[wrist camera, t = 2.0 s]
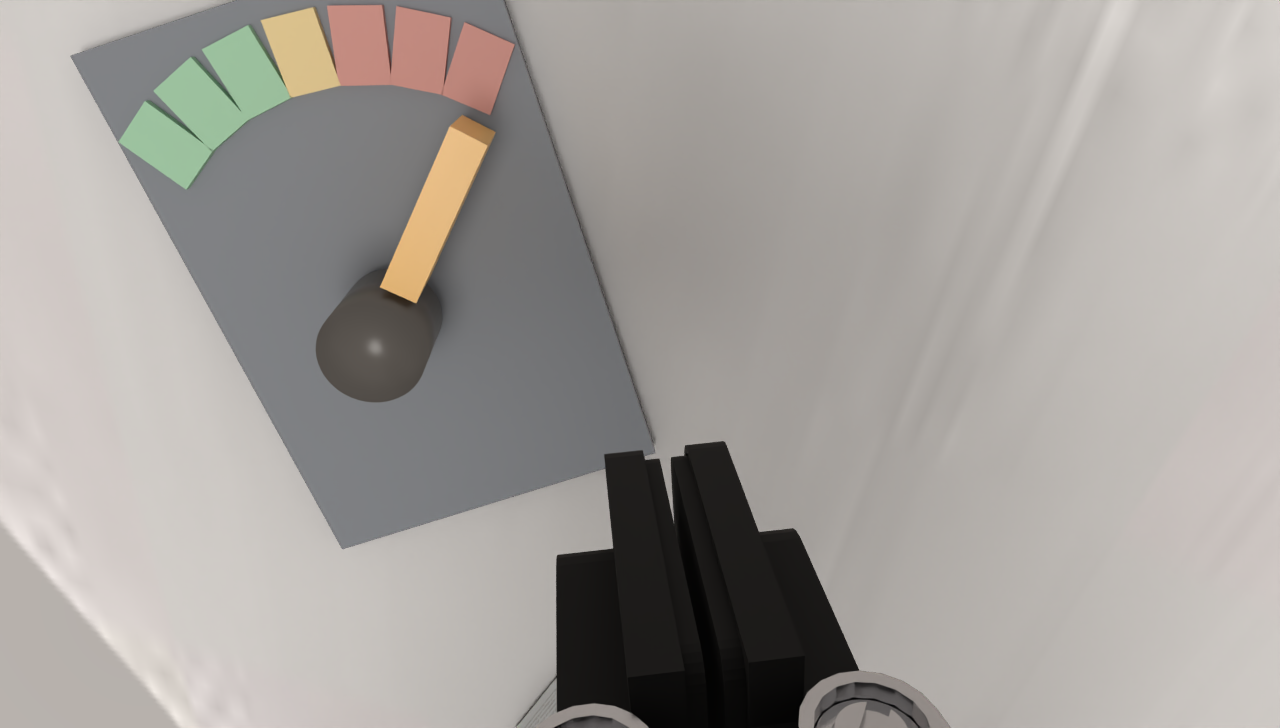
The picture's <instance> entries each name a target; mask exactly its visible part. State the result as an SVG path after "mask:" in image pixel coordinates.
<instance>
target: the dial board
mask: <svg viewBox="0 0 1280 728" xmlns="http://www.w3.org/2000/svg"><path fill="white" fill-rule="evenodd" d="M71 58H72V60H73V62H74V64H75V65H76V67H77V69H78V71H79V73H80V74H81V76H82V78H83V80H84V82H85V84H86V85H87V87H88V89H89V91H90V93H91V94H92V96H93V98H94V100H95V102H96V103H97V105H98V107H99V109H100V111H101V113H102V114H103V116H104V118H105V120H106V122H107V123H108V125H109V127H110V129H111V131H112V132H113V134H114V136H115V138H116V140H117V142H118V143H119V145H120V147H121V149H122V151H123V152H124V154H125V156H126V158H127V160H128V162H129V163H130V165H131V167H132V169H133V171H134V172H135V174H136V176H137V178H138V180H139V181H140V183H141V185H142V187H143V189H144V191H145V192H146V194H147V196H148V198H149V200H150V201H151V203H152V205H153V207H154V209H155V210H156V212H157V214H158V216H159V218H160V220H161V221H162V223H163V225H164V227H165V229H166V230H167V232H168V234H169V236H170V238H171V240H172V241H173V243H174V245H175V247H176V249H177V250H178V252H179V254H180V256H181V258H182V259H183V261H184V263H185V265H186V267H187V269H188V270H189V272H190V274H191V276H192V278H193V279H194V281H195V283H196V285H197V287H198V288H199V290H200V292H201V294H202V296H203V298H204V299H205V301H206V303H207V305H208V307H209V308H210V310H211V312H212V314H213V316H214V318H215V319H216V321H217V323H218V325H219V327H220V328H221V330H222V332H223V334H224V336H225V337H226V339H227V341H228V343H229V345H230V347H231V348H232V350H233V352H234V354H235V356H236V357H237V359H238V361H239V363H240V365H241V366H242V368H243V370H244V372H245V374H246V376H247V377H248V379H249V381H250V383H251V385H252V386H253V388H254V390H255V392H256V394H257V396H258V397H259V399H260V401H261V403H262V405H263V406H264V408H265V410H266V412H267V414H268V415H269V417H270V419H271V421H272V423H273V425H274V426H275V428H276V430H277V432H278V434H279V435H280V437H281V439H282V441H283V443H284V444H285V446H286V448H287V450H288V452H289V454H290V455H291V457H292V459H293V461H294V463H295V464H296V466H297V468H298V470H299V472H300V474H301V475H302V477H303V479H304V481H305V483H306V484H307V486H308V488H309V490H310V492H311V493H312V495H313V497H314V499H315V501H316V503H317V504H318V506H319V508H320V510H321V512H322V513H323V515H324V517H325V519H326V521H327V522H328V524H329V526H330V528H331V530H332V532H333V533H334V535H335V537H336V539H337V541H338V542H339V544H340V546H341V548H342V549H345V548H348V547H351V546H355V545H358V544H361V543H364V542H368V541H371V540H374V539H377V538H381V537H384V536H387V535H390V534H394V533H397V532H400V531H403V530H407V529H410V528H413V527H416V526H420V525H423V524H426V523H429V522H432V521H436V520H439V519H442V518H445V517H449V516H452V515H455V514H458V513H462V512H465V511H468V510H471V509H475V508H478V507H481V506H484V505H488V504H491V503H494V502H497V501H501V500H504V499H507V498H510V497H514V496H517V495H520V494H523V493H527V492H530V491H533V490H536V489H540V488H543V487H546V486H549V485H553V484H556V483H559V482H562V481H566V480H569V479H572V478H575V477H579V476H582V475H585V474H588V473H592V472H595V471H598V470H601V469H605V459H604V454H609V453H618V452H628V451H637V450H643V453H644V456H647V455H650V454H653V453H655V449H654V444H653V441H652V438H651V435H650V432H649V429H648V426H647V423H646V420H645V417H644V414H643V411H642V408H641V405H640V402H639V399H638V396H637V393H636V390H635V387H634V384H633V381H632V378H631V375H630V372H629V369H628V366H627V363H626V360H625V357H624V355H623V352H622V349H621V346H620V343H619V340H618V337H617V334H616V331H615V328H614V325H613V322H612V319H611V316H610V313H609V310H608V307H607V304H606V301H605V298H604V295H603V292H602V289H601V286H600V283H599V280H598V277H597V274H596V271H595V268H594V265H593V262H592V259H591V256H590V253H589V250H588V247H587V244H586V241H585V238H584V235H583V232H582V229H581V227H580V224H579V221H578V218H577V215H576V212H575V209H574V206H573V203H572V200H571V197H570V194H569V191H568V188H567V185H566V182H565V179H564V176H563V173H562V170H561V167H560V164H559V161H558V158H557V155H556V152H555V149H554V146H553V143H552V140H551V137H550V134H549V131H548V128H547V125H546V122H545V119H544V116H543V113H542V110H541V107H540V104H539V102H538V99H537V96H536V93H535V90H534V87H533V84H532V81H531V78H530V75H529V72H528V69H527V66H526V63H525V60H524V57H523V54H522V51H521V48H520V45H519V42H518V39H517V36H516V33H515V30H514V27H513V24H512V21H511V18H510V15H509V12H508V9H507V6H506V3H505V0H236V1H233V2H230V3H227V4H224V5H221V6H218V7H215V8H212V9H209V10H206V11H203V12H200V13H197V14H194V15H191V16H188V17H185V18H182V19H179V20H176V21H173V22H170V23H167V24H164V25H161V26H158V27H155V28H152V29H149V30H146V31H143V32H140V33H137V34H134V35H131V36H128V37H125V38H122V39H119V40H116V41H113V42H110V43H107V44H104V45H101V46H98V47H95V48H92V49H89V50H86V51H83V52H80V53H77V54H74V55H71ZM461 115H464V116H466V117H467V118H469V119H471V120H473V121H475V122H477V123H479V124H481V125H483V126H485V127H487V128H489V129H491V130H493V131H495V132H496V133H495V135H494V138H493V140H492V142H491V144H490V146H489V149H488V151H487V153H486V155H485V157H484V160H483V162H482V164H481V166H480V168H479V171H478V173H477V175H476V177H475V179H474V182H473V184H472V186H471V188H470V190H469V193H468V195H467V197H466V199H465V201H464V204H463V206H462V208H461V210H460V212H459V215H458V217H457V219H456V221H455V223H454V226H453V228H452V230H451V232H450V234H449V237H448V239H447V241H446V243H445V245H444V248H443V250H442V252H441V254H440V256H439V259H438V261H437V263H436V265H435V267H434V270H433V272H432V274H431V276H430V278H429V280H428V282H427V284H428V285H429V286H430V287H431V289H432V290H433V291H434V293H435V294H436V296H437V298H438V300H439V302H440V305H441V310H442V325H441V329H440V332H439V334H438V337H437V339H436V342H435V344H434V347H433V349H432V352H431V354H430V357H429V359H428V362H427V364H426V367H425V369H424V372H423V374H422V377H421V378H420V380H419V382H418V383H417V384H416V386H415V387H414V388H413V389H412V390H411V391H409V392H408V393H406V394H405V395H403V396H401V397H399V398H397V399H394V400H391V401H387V402H365V401H360V400H357V399H354V398H351V397H349V396H347V395H345V394H343V393H342V392H340V391H339V390H337V389H336V388H335V387H334V386H333V385H332V384H331V383H330V382H329V381H328V380H327V379H326V377H325V376H324V375H323V373H322V371H321V369H320V367H319V365H318V361H317V358H316V340H317V336H318V333H319V331H320V329H321V327H322V325H323V324H324V322H325V321H326V320H327V318H328V317H329V316H330V315H331V313H332V312H333V311H334V310H335V308H336V307H337V306H338V305H339V303H340V302H341V301H342V300H343V298H344V297H345V296H346V295H347V293H348V292H349V291H350V289H351V288H352V287H353V286H354V284H355V283H356V282H357V281H358V280H360V279H361V278H362V277H364V276H365V275H367V274H369V273H371V272H374V271H377V270H383V269H388V267H389V265H390V263H391V260H392V258H393V256H394V253H395V251H396V249H397V247H398V244H399V242H400V240H401V237H402V235H403V233H404V230H405V228H406V226H407V224H408V221H409V219H410V217H411V214H412V212H413V210H414V207H415V205H416V203H417V200H418V198H419V196H420V194H421V191H422V189H423V187H424V184H425V182H426V180H427V177H428V175H429V173H430V171H431V168H432V166H433V164H434V161H435V159H436V157H437V154H438V152H439V150H440V147H441V145H442V143H443V141H444V138H445V136H446V134H447V131H448V129H449V127H450V125H452V124H453V123H454V122H455V121H456V120H457V119H458V118H459V117H460V116H461Z"/></svg>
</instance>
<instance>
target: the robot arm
mask: <svg viewBox="0 0 1280 728" xmlns="http://www.w3.org/2000/svg"><path fill="white" fill-rule="evenodd" d="M604 459H605V469H606V479H607V489H608V499H609V509H610V519H611V530H612V540H613V549H607V550H598V551H589V552H580V553H571V554H562V555H557V562H556V625H557V713H554V714H552V715H551V716H549V717H548V718H547V719H545V720H544V721H543V722H541V723H540V724H538V725H537V726H536V727H534V728H951V727H950V726H949V724H948V723H947V722H946V720H945V719H944V718H943V716H942V715H941V713H940V712H939V711H938V709H937V708H936V707H935V706H934V705H933V704H932V703H931V702H930V701H929V700H928V699H927V698H926V697H925V696H924V695H923V694H922V693H921V692H919V691H918V690H916V689H915V688H913V687H912V686H910V685H908V684H907V683H905V682H904V681H901V680H899V679H896V678H893V677H890V676H887V675H885V674H882V673H874V672H866V671H859V669H858V666H857V664H856V662H855V660H854V657H853V655H852V653H851V651H850V648H849V646H848V644H847V642H846V639H845V637H844V635H843V633H842V630H841V628H840V626H839V624H838V621H837V619H836V617H835V615H834V612H833V610H832V608H831V606H830V603H829V601H828V599H827V597H826V594H825V592H824V590H823V588H822V585H821V583H820V581H819V579H818V576H817V574H816V572H815V570H814V567H813V565H812V563H811V561H810V558H809V556H808V554H807V552H806V549H805V547H804V545H803V543H802V540H801V538H800V536H799V535H798V533H797V531H796V530H794V529H793V528H792V529H783V530H774V531H766V532H759V531H758V529H757V526H756V523H755V520H754V518H753V515H752V512H751V510H750V507H749V504H748V502H747V499H746V496H745V494H744V491H743V488H742V486H741V483H740V480H739V478H738V475H737V472H736V470H735V467H734V464H733V461H732V459H731V456H730V453H729V451H728V448H727V445H726V443H725V442H724V441H722V442H713V443H703V444H694V445H685V451H684V456H679V457H671V475H672V493H673V510H674V522H673V518H672V513H671V509H670V504H669V500H668V495H667V491H666V486H665V482H664V477H663V473H662V468H661V463H660V460H659V459H651V460H645V458H644V453H643V450H637V451H628V452H618V453H609V454H604Z"/></svg>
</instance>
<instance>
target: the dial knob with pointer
mask: <svg viewBox="0 0 1280 728" xmlns="http://www.w3.org/2000/svg"><path fill="white" fill-rule="evenodd" d="M495 133H496V132H495V131H493V130H491V129H489V128H487V127H485V126H483V125H481V124H479V123H477V122H475V121H473V120H471V119H469V118H467V117H466V116H464V115H461V116H460V117H459V118H458V119H457V120H456V121H455V122H454V123H453V124H452V125H450V127H449V129H448V131H447V134H446V136H445V138H444V141H443V143H442V145H441V147H440V150H439V152H438V154H437V157H436V159H435V161H434V164H433V166H432V168H431V171H430V173H429V175H428V177H427V180H426V182H425V184H424V187H423V189H422V191H421V194H420V196H419V198H418V200H417V203H416V205H415V207H414V210H413V212H412V214H411V217H410V219H409V221H408V224H407V226H406V228H405V230H404V233H403V235H402V237H401V240H400V242H399V244H398V247H397V249H396V251H395V253H394V256H393V258H392V260H391V263H390V265H389V267H388V269H383V270H377V271H374V272H371V273H369V274H367V275H365V276H364V277H362V278H361V279H360V280H358V281H357V282H356V283H355V284H354V286H353V287H352V288H351V289H350V291H349V292H348V293H347V295H346V296H345V297H344V298H343V300H342V301H341V302H340V303H339V305H338V306H337V307H336V308H335V310H334V311H333V312H332V313H331V315H330V316H329V317H328V318H327V320H326V321H325V322H324V324H323V325H322V327H321V329H320V331H319V333H318V336H317V340H316V358H317V361H318V365H319V367H320V369H321V371H322V373H323V375H324V376H325V377H326V379H327V380H328V381H329V382H330V383H331V384H332V385H333V386H334V387H335V388H336V389H337V390H339V391H340V392H342V393H343V394H345V395H347V396H349V397H351V398H354V399H357V400H360V401H365V402H387V401H391V400H394V399H397V398H399V397H401V396H403V395H405V394H406V393H408V392H409V391H411V390H412V389H413V388H414V387H415V386H416V384H417V383H418V382H419V380H420V378H421V377H422V374H423V372H424V369H425V367H426V364H427V362H428V359H429V357H430V354H431V352H432V349H433V347H434V344H435V342H436V339H437V337H438V334H439V332H440V329H441V325H442V310H441V305H440V302H439V300H438V298H437V296H436V294H435V293H434V291H433V290H432V289H431V287H430V286H429V285H428V284H427V282H428V280H429V278H430V276H431V274H432V272H433V270H434V267H435V265H436V263H437V261H438V259H439V256H440V254H441V252H442V250H443V248H444V245H445V243H446V241H447V239H448V237H449V234H450V232H451V230H452V228H453V226H454V223H455V221H456V219H457V217H458V215H459V212H460V210H461V208H462V206H463V204H464V201H465V199H466V197H467V195H468V193H469V190H470V188H471V186H472V184H473V182H474V179H475V177H476V175H477V173H478V171H479V168H480V166H481V164H482V162H483V160H484V157H485V155H486V153H487V151H488V149H489V146H490V144H491V142H492V140H493V138H494V135H495Z"/></svg>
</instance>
